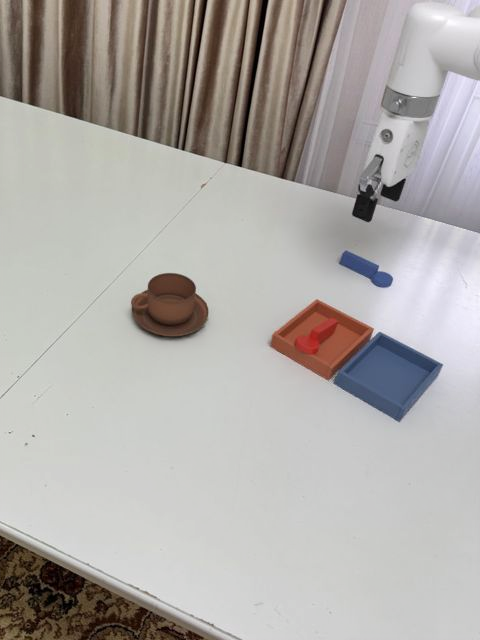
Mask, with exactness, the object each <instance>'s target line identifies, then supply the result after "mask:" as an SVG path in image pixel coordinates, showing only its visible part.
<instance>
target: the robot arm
mask: <svg viewBox="0 0 480 640" xmlns="http://www.w3.org/2000/svg"><path fill="white" fill-rule="evenodd" d="M449 72H451V73H454V74H456V75H460V76H462V77H465V78H467V79H471V80H474V81H479V82H480V4H479V5H477V6H475V7H474V8H473V9H472V10H470V11H469V12H468V13H467V15H465V13H464V12H463V10H462V9H460V8H459V7H457V6H454V5H452V4H448V3H444V2H437V1H420V2H417V3H415V4H413V5H412V6H410V7H409V9H408V11H407V13H406V15H405V17H404V22H403V24H402V28H401V32H400V36H399V39H398V42H397V45H396V49H395V53H394V57H393V60H392V63H391V67H390V70H389V74H388V77H387V81H386V84H385V87H384V91H383V94H382V98H381V100H380V101H381V102H380V104H379V109H380V111H381V115H380V118H379V120H378V123H377V126H376V129H375V131H374V133H373V137H372V140H371V142H370V145H369V148H368V152H367V155H366V158H365V162H364V166H363V169H362V173H360V175H359V183H358V185H357V191H356V194H357V195H356V198H355V201H354V205H353V207H352V208H353V209H352V212H351V215H352V217H354V218H356V219H359V220H361V221H363V222H366V223H371V221H372V220H373V217H374V214H375V211H376V207H377V205H378V201H379V198H377V197H378V195H379V193H380V196H381V197H383V198H386V199H388V200H390V201H393V202H395V203H396V202H398V201H400V199H401V196H402V193H403V190H404V188H405V185H406V181H407V177H408V176H410V175H411V174H412V173H413V172H414V171H415V170H416V168H417V167H418V163H419V160H420V157H421V154H422V150H423V147H424V143H425V139H426V136H427V133H428V128H429V126H430V125H429V124H430V120H431V119H433V117H434V113H435V111H436V108H437V106H438V102H439V98H440V96H441V94H442V90H443V89H444V88H443V87H444V85H445V82H446V80H447V76H448V73H449ZM375 175H376V176H375ZM377 176H379V177H377ZM371 183H375V184H376V185H375V187H373V185H372V184H371Z"/></svg>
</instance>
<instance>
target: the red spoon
mask: <svg viewBox="0 0 480 640" xmlns="http://www.w3.org/2000/svg"><path fill="white" fill-rule="evenodd" d="M338 322H339V321H338V320H336V319H334V318H332V317H331V318H330V319H328V320H326V321H325V322H323V323H321V324H320V325H318V326H316V327H315V328H313V329H312V330H311V333H310V336H305V335H300V336H298V337H297V338H296V340H295V343H294V345H295V347H296V348H297V349H298V350H300V351H302V352H304V353H308V354H315V353H317V352H318V350H319V347H320V344H319V343H320V342H322V341H323V340H325V339H326V338H328V337H329V336H331V335H332V334H334V332H335V329H336V327H337V324H338Z"/></svg>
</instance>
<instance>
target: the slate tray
mask: <svg viewBox="0 0 480 640" xmlns="http://www.w3.org/2000/svg"><path fill="white" fill-rule="evenodd" d="M443 366H444V363H441V362H439V361H437V360H435V359H434V358H432V357H430V356H428V355H426V354H424V353H422V352H420V351H419V350H416V349H414V348H412V347H411V346H409V345H407V344H404V343H403V342H401V341H399V340H397V339H395V338H393V337H392V336H389V335H388V334H385V333H383V332H381V331H378V332H377V333H376V334H375V335H374V336H373V337H371V338H370V341H369V342H368V343H367V344H366V345H365V346H364V347H363V348H362V349H361V350H359V351H358V352H357V353H356V354H355V355H354V356H353V357H352V358H351V359H350V360H349V361H348V362H347V363H346V364H345V365H344V366H343V367H342V368H341V369H340V370H339V371H338V372H337V373H336V376H335V379H334V382H333V384H334V385H336V386H337V387H339V388H340V389H342V390H344V391H345V392H347V393H349V394H350V395H352V396H353V397H356V398H358V399H359V400H361V401H363V402H364V403H366V404H368V405H370V406H372V407H374V408H375V409H376V410H378V411H380V412H382V413H383V414H385V415H387V416H389V417H390V418H392V419H394V420H396V421H397V422H401V421H402V420H403V419H404V418H405V416H406V415H407V414H408V413H409V411H410V410H411V409H412V408H413V407H414V406H415V404H416V403H417V402H418V401H419V400H420V398H421V397H422V396H423V395H424V393H425V392H427V390H428V389H429V388H430V386H431V385H432V384H433V383H434V382H435V380H436V379H438V376H439V374H440V373H441V371H442V368H443Z"/></svg>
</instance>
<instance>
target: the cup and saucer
mask: <svg viewBox="0 0 480 640" xmlns="http://www.w3.org/2000/svg"><path fill="white" fill-rule="evenodd" d="M130 304H131V313H132V316H133V318H134V320H135V322H136V323H137V324H138V325H139V326H140V327H141V328H143V329H145V330H146V331H148V332H150V333H153V334H155V335H159V336H164V337H180V336H185V335H190V334H192V333H194V332H196V331H198V330H199V329H201V328H202V327H203V326H204V324H205V323H206V322H207V320H208V317H209V313H210V312H209V306H208V304H207V303H206V301H205V299H203V298H202V297H201V296H200V295H199V294H197V286H196V283H195V282H194V280H193V279H191V278H190V277H188V276H187V275H184V274H181V273H176V272H165V273H159V274H157V275H155V276H153V277H152V278H150V279H149V281H148V282H147V289H145V290H144V291H142V292H140V293H137V294H134V295H133V297H132V298H131V300H130Z"/></svg>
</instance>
